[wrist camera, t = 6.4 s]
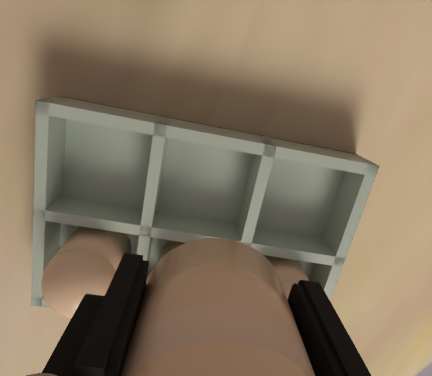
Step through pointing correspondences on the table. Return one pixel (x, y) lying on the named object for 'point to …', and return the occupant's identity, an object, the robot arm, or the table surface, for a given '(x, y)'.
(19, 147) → the table surface
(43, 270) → the carton
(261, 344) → the egg
